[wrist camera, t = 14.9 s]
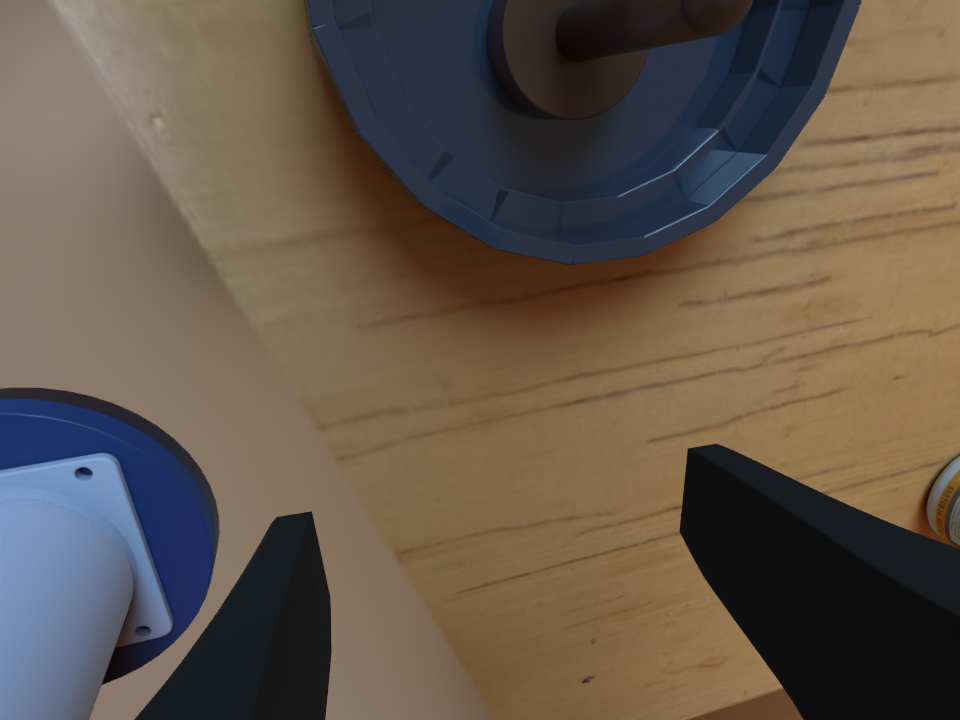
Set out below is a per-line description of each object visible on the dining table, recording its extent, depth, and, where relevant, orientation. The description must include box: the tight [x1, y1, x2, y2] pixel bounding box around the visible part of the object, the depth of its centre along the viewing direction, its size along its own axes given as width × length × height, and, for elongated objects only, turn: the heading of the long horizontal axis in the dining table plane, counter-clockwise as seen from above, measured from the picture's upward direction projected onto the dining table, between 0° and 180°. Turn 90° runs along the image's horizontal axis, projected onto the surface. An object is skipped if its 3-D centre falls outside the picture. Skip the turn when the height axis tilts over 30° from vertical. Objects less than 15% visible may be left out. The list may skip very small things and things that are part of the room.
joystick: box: [487, 0, 754, 120], centre depth 14 cm, size 4×4×8 cm
